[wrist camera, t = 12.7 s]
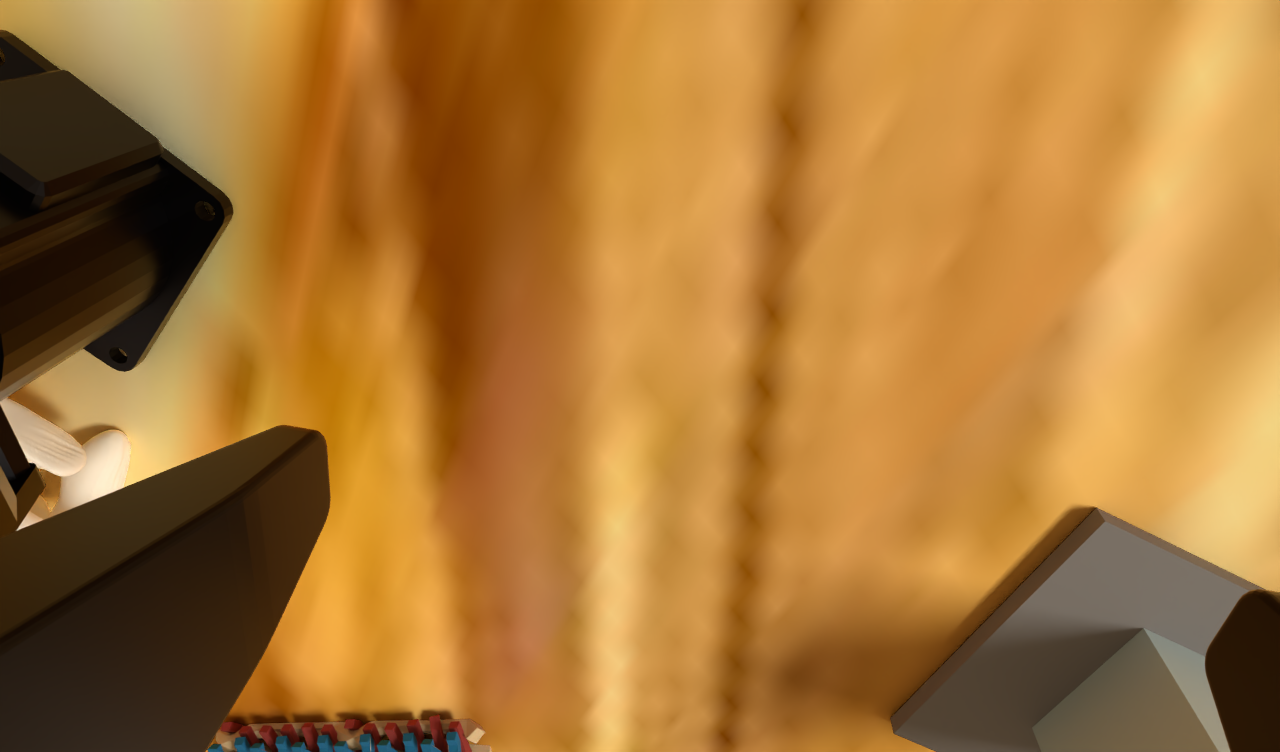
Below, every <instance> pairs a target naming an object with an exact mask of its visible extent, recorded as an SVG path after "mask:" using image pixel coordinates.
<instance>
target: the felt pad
mask: <svg viewBox="0 0 1280 752" xmlns="http://www.w3.org/2000/svg"><path fill="white" fill-rule="evenodd" d="M1256 589H1263V588H1261V587H1259V586H1257V585H1255V584H1253V583H1251V582H1248V581H1246V580H1244V579H1242V578H1240V577H1238V576H1236V575H1234V574H1232V573H1230V572H1228V571H1226V570H1224V569H1222V568H1220V567H1218V566H1215V565H1213V564H1211V563H1209V562H1207V561H1205V560H1203V559H1201V558H1199V557H1197V556H1195V555H1193V554H1191V553H1189V552H1187V551H1185V550H1183V549H1180V548H1178V547H1176V546H1174V545H1172V544H1170V543H1168V542H1166V541H1164V540H1162V539H1160V538H1158V537H1156V536H1154V535H1152V534H1150V533H1147V532H1145V531H1143V530H1141V529H1139V528H1137V527H1135V526H1133V525H1131V524H1129V523H1127V522H1125V521H1123V520H1121V519H1119V518H1117V517H1115V516H1112V515H1110V514H1108V513H1106V512H1104V511H1102V510H1100V509H1098V508H1096V509H1095V510H1094V511H1093V512H1092V513H1091V514H1090V515H1089V516H1088V517H1087V518H1086V519H1085V520H1084V521H1083V522H1082V523H1081V524H1080V525H1079V526H1078V527H1077V528H1076V529H1075V530H1074V531H1073V532H1072V533H1071V534H1070V535H1069V536H1068V537H1067V538H1066V539H1065V540H1064V541H1063V542H1062V543H1061V545H1060V546H1059V547H1058V548H1057V549H1056V550H1055V551H1054V552H1053V553H1052V554H1051V555H1050V556H1049V557H1048V558H1047V559H1046V560H1045V561H1044V562H1043V563H1042V564H1041V565H1040V566H1039V567H1038V568H1037V569H1036V570H1035V571H1034V572H1033V573H1032V574H1031V575H1030V576H1029V577H1028V578H1027V579H1026V580H1025V581H1024V582H1023V583H1022V584H1021V585H1020V586H1019V587H1018V588H1017V589H1016V590H1015V592H1014V593H1013V594H1012V595H1011V596H1010V597H1009V598H1008V599H1007V600H1006V601H1005V602H1004V603H1003V604H1002V605H1001V606H1000V607H999V608H998V609H997V610H996V611H995V612H994V613H993V614H992V615H991V616H990V617H989V618H988V619H987V620H986V621H985V622H984V623H983V624H982V625H981V626H980V627H979V628H978V629H977V630H976V631H975V632H974V633H973V634H972V635H971V636H970V637H969V638H968V640H967V641H966V642H965V643H964V644H963V645H962V646H961V647H960V648H959V649H958V650H957V651H956V652H955V653H954V654H953V655H952V656H951V657H950V658H949V659H948V660H947V661H946V662H945V663H944V664H943V665H942V666H941V667H940V668H939V669H938V670H937V671H936V672H935V673H934V674H933V675H932V676H931V677H930V678H929V679H928V680H927V681H926V682H925V683H924V684H923V685H922V687H921V688H920V689H919V690H918V691H917V692H916V693H915V694H914V695H913V696H912V697H911V698H910V699H909V700H908V701H907V702H906V703H905V704H904V705H903V706H902V707H901V708H900V709H899V710H898V711H897V712H896V713H895V714H894V715H893V716H892V717H891V718H890V719H891V723H892V728H893V733H894V734H896V735H898V736H901V737H903V738H905V739H908V740H910V741H912V742H915V743H917V744H920V745H922V746H924V747H927V748H929V749H931V750H934V751H936V752H1041V750H1040V747H1039V745H1038V742H1037V739H1036V737H1035V734H1034V732H1033V729H1032V727H1033V726H1034V725H1036V724H1037V723H1038V722H1039V721H1040V720H1041V719H1042V718H1043V717H1045V716H1046V715H1047V714H1048V713H1049V712H1050V711H1051V710H1052V709H1053V708H1055V707H1056V706H1057V705H1058V704H1059V703H1060V702H1061V701H1062V700H1064V699H1065V698H1066V697H1067V696H1068V695H1069V694H1070V693H1071V692H1073V691H1074V690H1075V689H1076V688H1077V687H1078V686H1079V685H1080V684H1081V683H1083V682H1084V681H1085V680H1086V679H1087V678H1088V677H1089V676H1090V675H1092V674H1093V673H1094V672H1095V671H1096V670H1097V669H1098V668H1099V667H1100V666H1102V665H1103V664H1104V663H1105V662H1106V661H1107V660H1108V659H1109V658H1111V657H1112V656H1113V655H1114V654H1115V653H1116V652H1117V651H1118V650H1119V649H1121V648H1122V647H1123V646H1124V645H1125V644H1126V643H1127V642H1128V641H1130V640H1131V639H1132V638H1133V637H1134V636H1135V635H1136V634H1137V633H1139V632H1140V631H1141V630H1142V629H1143V628H1145V629H1147V630H1149V631H1151V632H1153V633H1155V634H1157V635H1160V636H1162V637H1164V638H1166V639H1168V640H1170V641H1173V642H1175V643H1177V644H1179V645H1181V646H1183V647H1186V648H1188V649H1190V650H1192V651H1194V652H1196V653H1199V654H1201V655H1203V656H1205V655H1206V652H1207V649H1208V647H1209V645H1210V643H1211V642H1212V640H1213V638H1214V637H1215V635H1216V634H1217V632H1218V631H1219V629H1220V628H1221V626H1222V625H1223V623H1224V622H1225V620H1226V618H1227V617H1228V615H1229V614H1230V612H1231V611H1232V609H1233V608H1234V606H1235V605H1236V603H1237V601H1238V600H1239V599H1240V597H1241V596H1242V595H1244V594H1245V593H1247V592H1248V591H1250V590H1256ZM1263 590H1265V589H1263Z"/></svg>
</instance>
